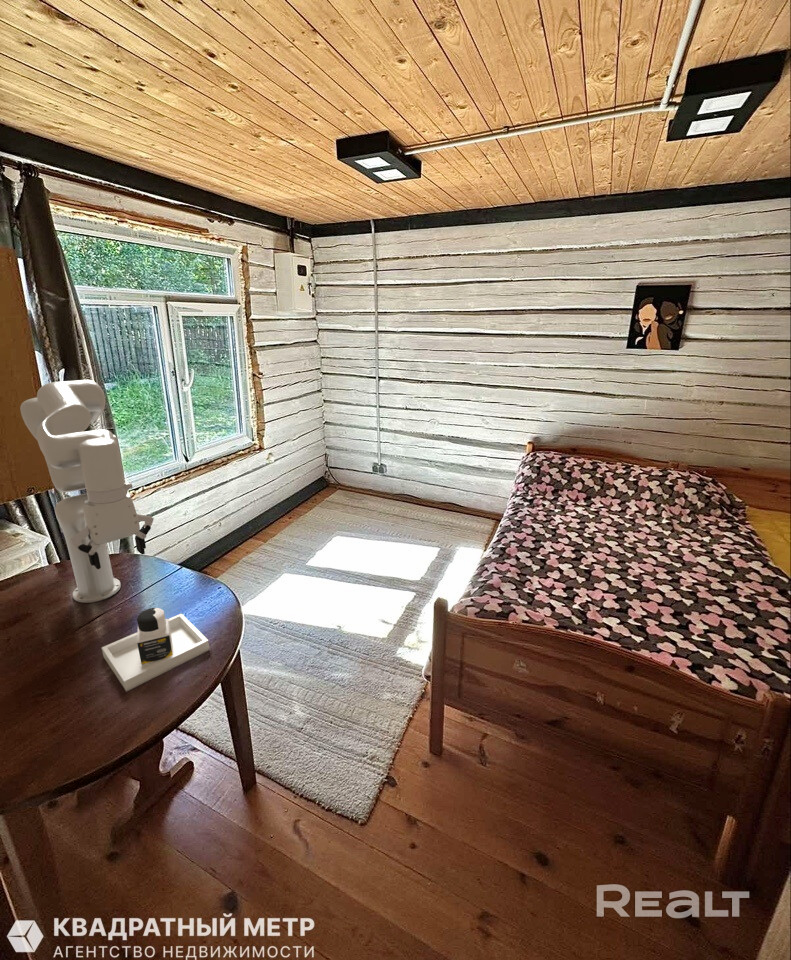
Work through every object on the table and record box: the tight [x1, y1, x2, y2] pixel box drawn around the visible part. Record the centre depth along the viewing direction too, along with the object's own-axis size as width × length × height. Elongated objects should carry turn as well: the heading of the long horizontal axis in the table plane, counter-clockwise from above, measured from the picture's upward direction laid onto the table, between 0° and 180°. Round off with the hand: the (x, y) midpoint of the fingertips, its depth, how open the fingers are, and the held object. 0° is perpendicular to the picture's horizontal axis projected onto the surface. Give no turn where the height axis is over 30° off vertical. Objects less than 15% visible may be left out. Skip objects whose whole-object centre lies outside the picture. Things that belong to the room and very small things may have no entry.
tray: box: [101, 613, 210, 692], centre depth 119 cm, size 16×20×3 cm
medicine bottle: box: [136, 607, 173, 665], centre depth 118 cm, size 7×7×12 cm
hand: (119, 559), depth 112 cm, fingers open, 9 cm apart
